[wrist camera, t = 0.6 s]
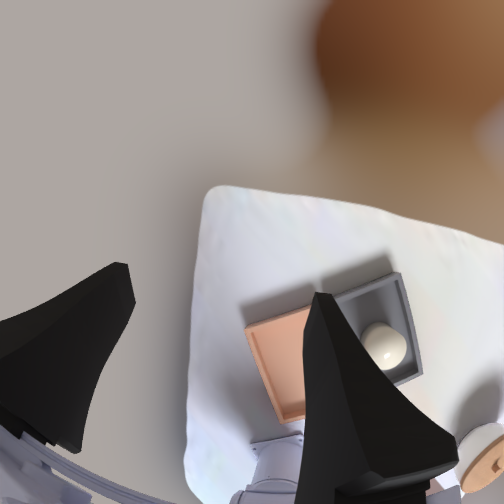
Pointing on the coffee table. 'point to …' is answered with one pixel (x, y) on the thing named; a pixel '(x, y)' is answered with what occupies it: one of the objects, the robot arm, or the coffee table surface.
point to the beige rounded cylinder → (384, 345)
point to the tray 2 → (385, 319)
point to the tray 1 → (281, 361)
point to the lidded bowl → (480, 457)
